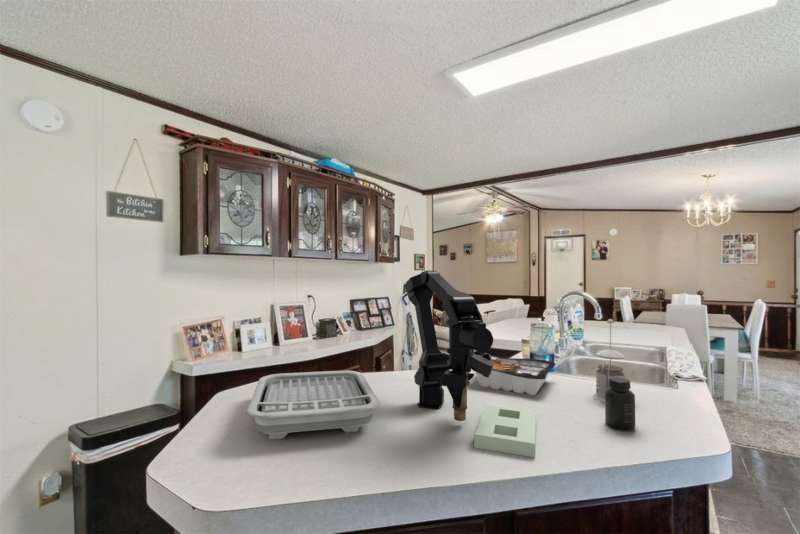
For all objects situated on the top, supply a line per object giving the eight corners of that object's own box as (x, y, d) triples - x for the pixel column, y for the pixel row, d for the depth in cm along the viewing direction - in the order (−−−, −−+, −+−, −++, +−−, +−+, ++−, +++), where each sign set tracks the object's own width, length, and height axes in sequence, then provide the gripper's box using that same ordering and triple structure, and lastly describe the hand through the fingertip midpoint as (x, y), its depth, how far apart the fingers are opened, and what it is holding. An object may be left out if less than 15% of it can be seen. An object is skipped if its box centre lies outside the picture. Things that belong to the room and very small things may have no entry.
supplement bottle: (631, 422, 101) (631, 377, 101) (638, 433, 94) (638, 385, 94) (602, 419, 103) (602, 375, 103) (607, 429, 96) (607, 382, 96)
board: (535, 457, 82) (535, 443, 82) (474, 447, 86) (474, 434, 86) (535, 422, 100) (535, 411, 100) (485, 415, 105) (486, 404, 105)
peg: (450, 420, 97) (451, 381, 97) (454, 415, 100) (454, 377, 100) (465, 422, 95) (466, 382, 95) (468, 417, 99) (468, 378, 99)
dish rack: (360, 390, 126) (360, 366, 126) (384, 438, 91) (384, 405, 91) (260, 398, 118) (260, 372, 118) (242, 454, 83) (243, 417, 83)
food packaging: (468, 365, 131) (487, 353, 150) (467, 387, 130) (487, 372, 150) (544, 376, 118) (555, 361, 137) (544, 400, 118) (555, 382, 137)
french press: (630, 398, 120) (631, 319, 120) (623, 408, 111) (624, 322, 111) (596, 391, 126) (597, 316, 127) (587, 400, 118) (587, 319, 118)
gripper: (487, 354, 86) (486, 423, 86) (496, 340, 104) (495, 397, 104) (439, 350, 90) (439, 416, 90) (455, 337, 108) (455, 392, 108)
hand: (459, 404), depth 98 cm, fingers closed on peg, 4 cm apart
